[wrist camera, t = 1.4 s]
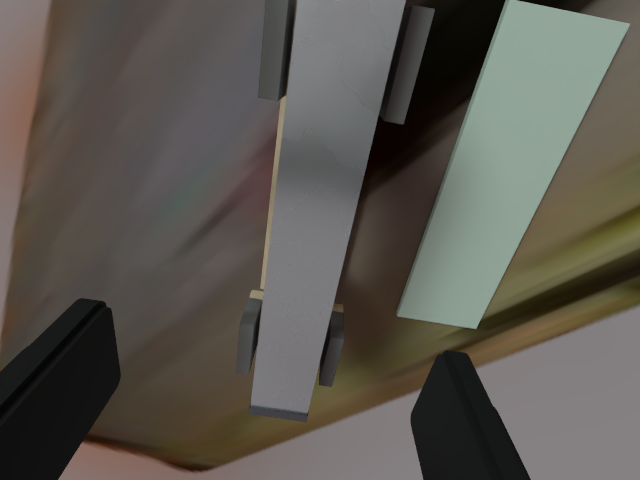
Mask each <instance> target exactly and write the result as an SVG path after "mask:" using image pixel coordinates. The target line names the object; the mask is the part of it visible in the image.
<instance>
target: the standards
mask: <svg viewBox="0 0 640 480" xmlns="http://www.w3.org/2000/svg"><path fill="white" fill-rule="evenodd" d="M297 1H298V0H266V3H265V16H264V28H263V41H262V53H261V66H260V78H259V91H258V98H264V99H269V100H275V101H279V100H280V99H281V104H280V113H279V122H278V132H277V141H276V150H275V159H274V168H273V177H272V186H271V195H270V205H269V214H268V223H267V232H266V241H265V250H264V259H263V269H262V278H261V287H260V289H264V286H265V277H266V269H267V260H268V251H269V243H270V234H271V225H272V217H273V208H274V200H275V191H276V182H277V174H278V165H279V157H280V148H281V139H282V131H283V122H284V113H285V105H286V96H287V88H288V79H289V70H290V62H291V53H292V45H293V36H294V27H295V19H296V10H297ZM434 11H435V9H431V8H426V7H421V6H416V5H412V6H411V7H409V8H408V9H406V10H405V11H404V12H403V14H402V19H401V23H400V27H399V31H398V35H397V40H396V44H395V48H394V52H393V56H392V61H391V65H390V69H389V73H388V77H387V82H386V86H385V90H384V94H383V98H382V103H381V107H380V111H379V115H380V116H381V117H382V119H383V120H384V121H387V122H392V123H398V124H404V121H405V117H406V113H407V110H408V106H409V103H410V99H411V95H412V92H413V88H414V84H415V81H416V77H417V73H418V70H419V66H420V62H421V59H422V55H423V51H424V48H425V44H426V40H427V37H428V33H429V30H430V26H431V22H432V19H433V15H434ZM263 294H264V292H262V291H256V290H252V291H251V294H250V297H249V300H248V302H247V305H246V308H245V311H244V313H243V316H242V319H241V322H240V328H239V341H238V353H237V366H236V373H242V374H248V375H249V372H250V368H251V365H252V361H253V357H254V354H255V350H256V346H258V338H259V329H260V320H261V312H262V303H263ZM343 343H344V314H343V304H336V303H334V304H333V308H332V312H331V317H330V321H329V325H328V329H327V333H326V337H325V342H324V346H323V350H322V354H321V358H320V373H319V385H322V386H329V387H332V383H333V380H334V376H335V372H336V369H337V365H338V362H339V358H340V354H341V351H342V347H343Z"/></svg>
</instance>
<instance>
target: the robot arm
mask: <svg viewBox="0 0 640 480" xmlns="http://www.w3.org/2000/svg"><path fill="white" fill-rule="evenodd" d="M120 377H121V373H120V366H119V359H118V352H117V345H116V338H115V330H114V323H113V316H112V310H111V309H110V308H108V307H107V306H106V303H105V302H103V301H97V300H90V299H83V298H81V299H78V300H77V301H75V302H74V303H73V304H72V305H71V306H70V307H69V308H68V309H67V310H66V311H65V312H64V313H63V314H62V315H61V316H60V317H59V318H58V319H57V320H56V321H55V322H54V323H52V324H51V325H50V326H49V327H48V328H47V329H46V330H45V331H44V332H43V333H42V334H41V335H40V336H39V337H38V338H37V339H36V340H35V341H34V342H33V343H32V344H31V345H30V346H28V347H26V348H25V349H24V350H23V351H21V352H20V353H19V354H18V355H17V356H16V357H15V358H14V359H13V360H12V361H11V362H10V363H9V364H8V365H7V366H6V367H5V368H4V369H3V370H2V371H1V372H0V480H58V479H59V477H60V476H61V474H62V473H63V471H64V469H65V468H66V466H67V465H68V463H69V461H70V460H71V458H72V457H73V455H74V454H75V452H76V451H77V449H78V448H79V446H80V444H81V443H82V441H83V440H84V438H85V437H86V435H87V434H88V432H89V430H90V429H91V427H92V426H93V424H94V423H95V421H96V419H97V418H98V416H99V415H100V413H101V412H102V410H103V409H104V407H105V405H106V404H107V402H108V401H109V399H110V398H111V396H112V394H113V393H114V391H115V390H116V388H117V386H118V384H119V381H120ZM411 427H412V432H413V435H414V440H415V445H416V449H417V453H418V458H419V462H420V466H421V471H422V475H423V479H424V480H531V479H530V477H529V475H528V473H527V471H526V469H525V467H524V465H523V463H522V461H521V459H520V457H519V454H518V452H517V450H516V448H515V446H514V444H513V442H512V440H511V438H510V436H509V434H508V432H507V430H506V428H505V426H504V424H503V422H502V419H501V418H500V416H499V414H498V412H497V410H496V409H495V407H493V405H492V403H491V401H490V399H489V397H488V395H487V393H486V391H485V389H484V387H483V384H482V383H481V380H480V379H479V376H478V374H477V372H476V370H475V368H474V366H473V364H472V362H471V360H470V357H469V356H468V354H466V353H462V352H455V351H448V350H446V351H444V352H443V354H442V355H440V354H439V355H438V356H437V357H436V359H435V362H434V364H433V366H432V368H431V371H430V373H429V375H428V377H427V379H426V382H425V384H424V386H423V388H422V390H421V393H420V395H419V397H418V399H417V401H416V404H415V406H414V408H413V411H412V413H411Z"/></svg>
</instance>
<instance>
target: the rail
mask: <svg viewBox="0 0 640 480" xmlns="http://www.w3.org/2000/svg"><path fill="white" fill-rule="evenodd" d="M405 2H406V0H298V1H297V10H296V19H295V27H294V36H293V45H292V53H291V62H290V70H289V79H288V88H287V96H286V105H285V113H284V122H283V131H282V139H281V148H280V157H279V165H278V174H277V182H276V191H275V200H274V208H273V217H272V225H271V234H270V243H269V251H268V260H267V269H266V277H265V286H264V294H263V303H262V312H261V320H260V329H259V338H258V346H257V355H256V363H255V372H254V381H253V389H252V398H251V403H250V407H249V414H254V415H261V416H268V417H275V418H282V419H289V420H296V421H303V422H307V418H308V409H309V405H310V400H311V396H312V392H313V388H314V384H315V379H316V375H317V371H318V367H319V363H320V358H321V354H322V350H323V346H324V342H325V337H326V333H327V329H328V325H329V321H330V317H331V312H332V308H333V304H334V300H335V296H336V291H337V287H338V283H339V279H340V275H341V270H342V266H343V262H344V258H345V254H346V249H347V245H348V241H349V237H350V233H351V228H352V224H353V220H354V216H355V212H356V207H357V203H358V199H359V195H360V191H361V186H362V182H363V178H364V174H365V170H366V166H367V161H368V157H369V153H370V149H371V145H372V140H373V136H374V132H375V128H376V124H377V119H378V115H379V111H380V107H381V103H382V98H383V94H384V90H385V86H386V82H387V77H388V73H389V69H390V65H391V61H392V56H393V52H394V48H395V44H396V40H397V35H398V31H399V27H400V23H401V19H402V14H403V10H404V6H405Z"/></svg>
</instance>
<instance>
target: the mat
mask: <svg viewBox="0 0 640 480" xmlns="http://www.w3.org/2000/svg"><path fill="white" fill-rule="evenodd" d="M629 25H630V24H628V23H623V22H619V21H614V20H609V19H604V18H599V17H594V16H590V15H585V14H580V13H575V12H570V11H565V10H561V9H556V8H551V7H546V6H541V5H536V4H532V3H527V2H522V1H517V0H506V1H505V4H504V7H503V10H502V13H501V16H500V18H499V21H498V24H497V27H496V30H495V33H494V36H493V38H492V41H491V44H490V47H489V50H488V53H487V55H486V58H485V61H484V64H483V67H482V70H481V73H480V75H479V78H478V81H477V84H476V87H475V90H474V92H473V95H472V98H471V101H470V104H469V107H468V110H467V112H466V115H465V118H464V121H463V124H462V127H461V129H460V132H459V135H458V138H457V141H456V144H455V147H454V149H453V152H452V155H451V158H450V161H449V164H448V166H447V169H446V172H445V175H444V178H443V181H442V184H441V186H440V189H439V192H438V195H437V198H436V201H435V203H434V206H433V209H432V212H431V215H430V218H429V221H428V223H427V226H426V229H425V232H424V235H423V238H422V240H421V243H420V246H419V249H418V252H417V255H416V258H415V260H414V263H413V266H412V269H411V272H410V275H409V277H408V280H407V283H406V286H405V289H404V292H403V294H402V297H401V300H400V303H399V306H398V309H397V312H396V314H397V316H398V317H404V318H410V319H416V320H423V321H429V322H435V323H441V324H447V325H454V326H460V327H466V328H472V329H476V328H477V326H478V324H479V322H480V320H481V318H482V316H483V314H484V312H485V310H486V308H487V306H488V304H489V302H490V300H491V298H492V296H493V294H494V292H495V290H496V288H497V287H498V285H499V283H500V281H501V279H502V277H503V275H504V273H505V271H506V269H507V267H508V265H509V263H510V261H511V259H512V257H513V255H514V253H515V251H516V249H517V247H518V245H519V243H520V241H521V239H522V237H523V235H524V233H525V231H526V229H527V227H528V225H529V223H530V221H531V219H532V217H533V215H534V213H535V211H536V209H537V207H538V205H539V203H540V201H541V199H542V197H543V195H544V194H545V192H546V190H547V188H548V186H549V184H550V182H551V180H552V178H553V176H554V174H555V172H556V170H557V168H558V166H559V164H560V162H561V160H562V158H563V156H564V154H565V152H566V150H567V148H568V146H569V144H570V142H571V140H572V138H573V136H574V134H575V132H576V130H577V128H578V126H579V124H580V122H581V120H582V118H583V116H584V114H585V112H586V110H587V108H588V106H589V104H590V102H591V101H592V99H593V97H594V95H595V93H596V91H597V89H598V87H599V85H600V83H601V81H602V79H603V77H604V75H605V73H606V71H607V69H608V67H609V65H610V63H611V61H612V59H613V57H614V55H615V53H616V51H617V49H618V47H619V45H620V43H621V41H622V39H623V37H624V35H625V33H626V31H627V29H628V27H629Z"/></svg>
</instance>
